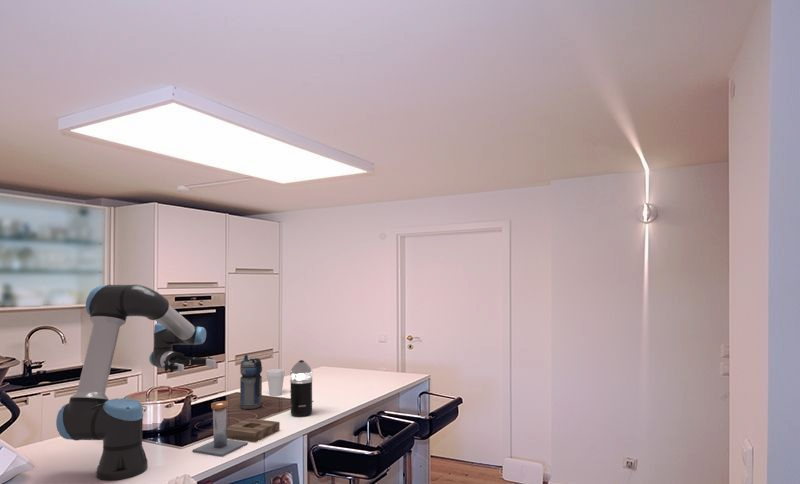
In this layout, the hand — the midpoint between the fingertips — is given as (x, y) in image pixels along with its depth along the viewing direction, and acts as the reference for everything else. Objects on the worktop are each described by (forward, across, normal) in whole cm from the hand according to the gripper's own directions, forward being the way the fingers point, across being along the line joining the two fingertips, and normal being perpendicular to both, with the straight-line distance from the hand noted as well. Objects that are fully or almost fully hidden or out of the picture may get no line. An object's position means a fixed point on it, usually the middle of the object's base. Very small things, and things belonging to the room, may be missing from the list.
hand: (199, 366), depth 204 cm
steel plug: (+14, -1, -29) cm, 32 cm away
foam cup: (-40, -66, -29) cm, 83 cm away
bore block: (+8, -19, -29) cm, 36 cm away
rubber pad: (+14, -1, -30) cm, 33 cm away
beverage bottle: (-27, -43, -29) cm, 59 cm away
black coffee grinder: (+2, -50, -29) cm, 58 cm away
